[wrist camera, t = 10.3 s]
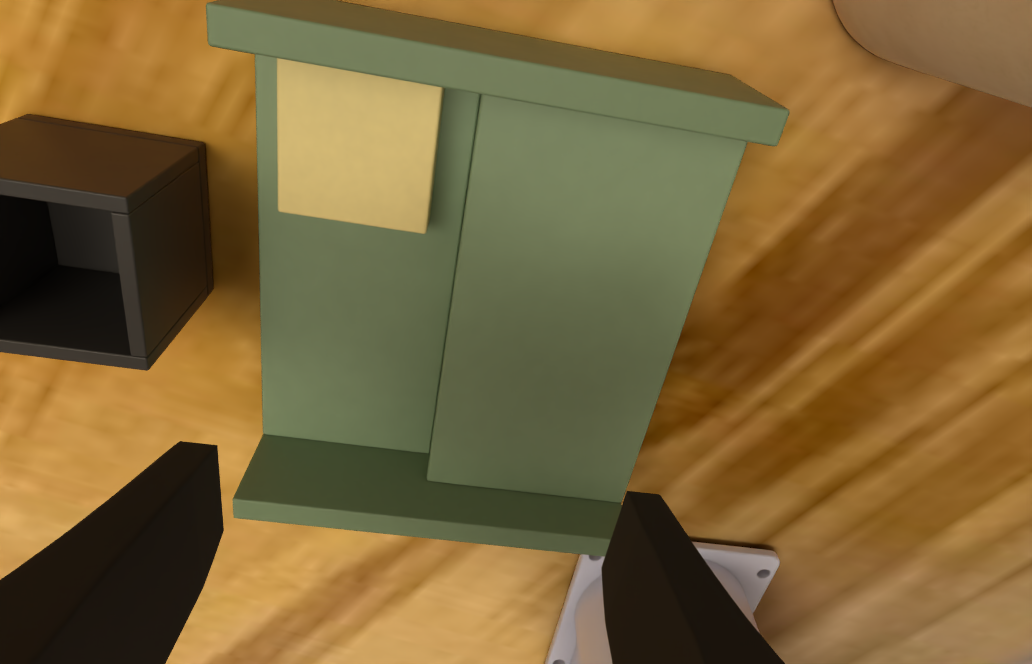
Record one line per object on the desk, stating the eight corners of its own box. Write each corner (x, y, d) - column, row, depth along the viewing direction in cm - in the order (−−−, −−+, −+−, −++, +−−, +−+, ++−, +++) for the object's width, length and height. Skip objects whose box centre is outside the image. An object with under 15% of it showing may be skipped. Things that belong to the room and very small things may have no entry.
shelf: (605, 468, 25) (623, 559, 21) (273, 428, 23) (232, 518, 20) (732, 74, 18) (792, 110, 14) (269, -13, 16) (204, 1, 13)
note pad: (429, 221, 18) (425, 235, 17) (287, 199, 18) (276, 212, 17) (446, 77, 16) (443, 84, 15) (288, 48, 16) (275, 54, 15)
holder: (214, 289, 21) (148, 371, 17) (56, 267, 20) (-49, 346, 16) (205, 142, 18) (126, 197, 14) (27, 113, 18) (-104, 162, 14)
